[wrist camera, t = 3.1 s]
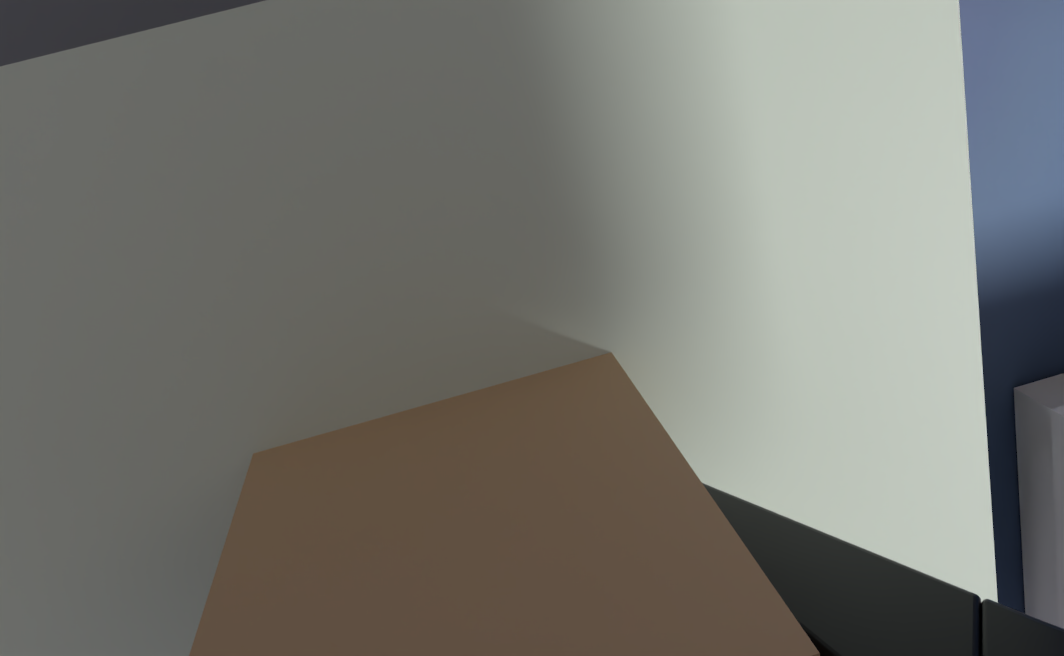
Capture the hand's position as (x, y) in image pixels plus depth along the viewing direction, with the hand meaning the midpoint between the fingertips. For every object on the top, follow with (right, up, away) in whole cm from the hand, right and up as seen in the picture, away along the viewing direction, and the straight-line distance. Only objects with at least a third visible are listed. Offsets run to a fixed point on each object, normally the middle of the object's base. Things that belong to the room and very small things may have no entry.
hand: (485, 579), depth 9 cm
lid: (0, 0, +1) cm, 1 cm away
